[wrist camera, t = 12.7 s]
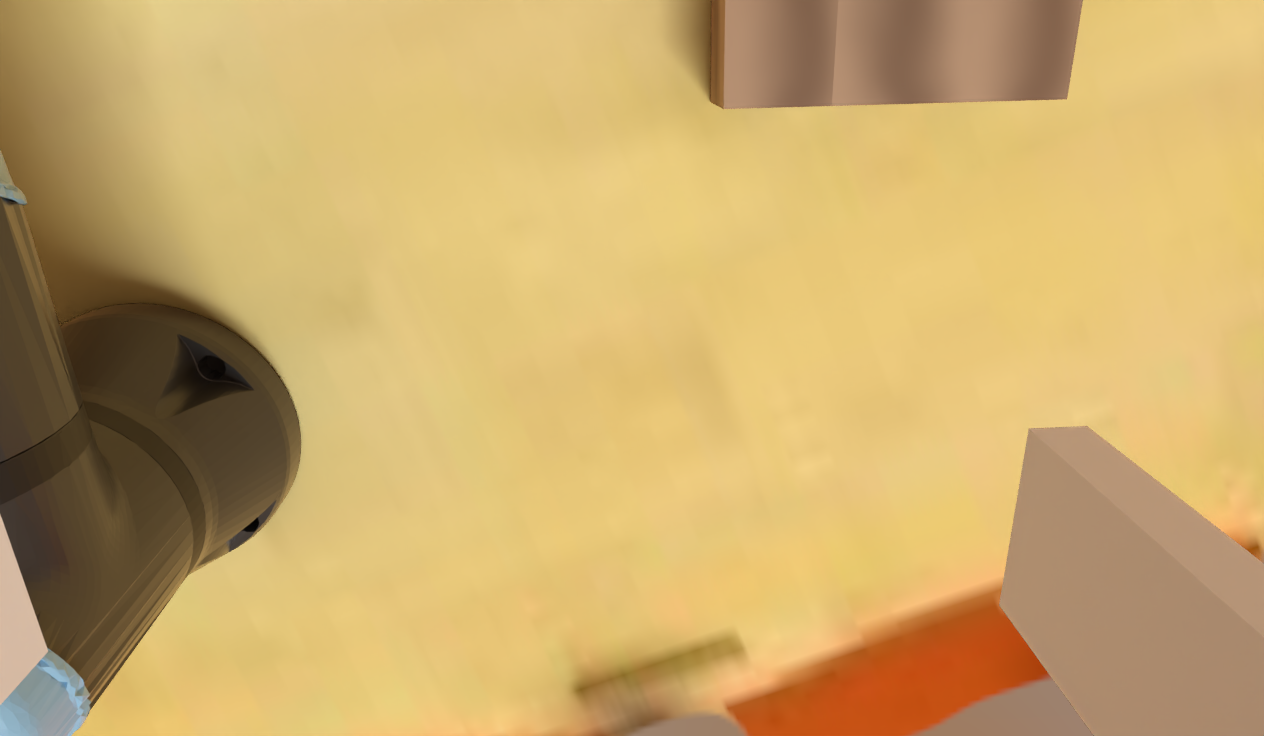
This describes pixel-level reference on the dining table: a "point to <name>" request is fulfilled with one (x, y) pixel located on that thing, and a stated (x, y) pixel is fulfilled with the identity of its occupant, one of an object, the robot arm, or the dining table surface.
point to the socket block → (890, 51)
